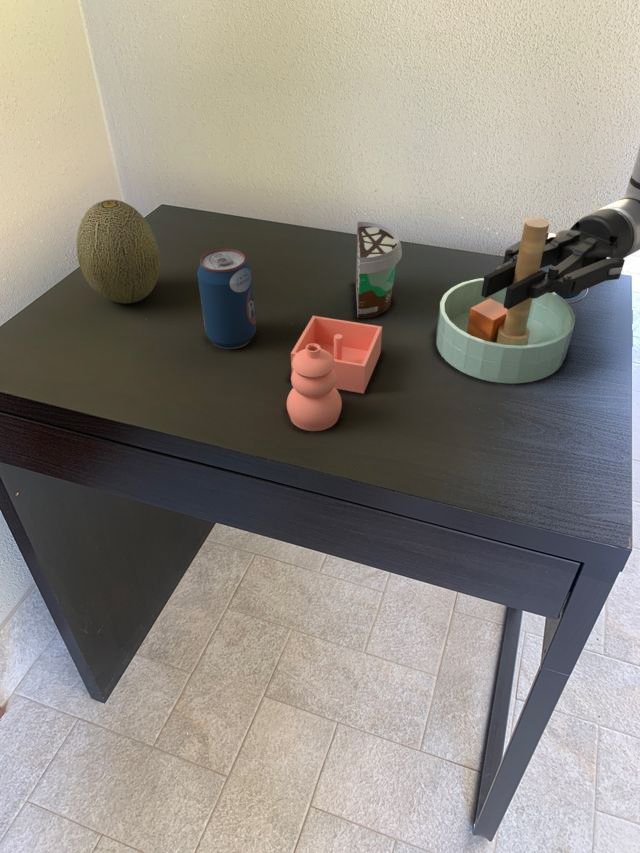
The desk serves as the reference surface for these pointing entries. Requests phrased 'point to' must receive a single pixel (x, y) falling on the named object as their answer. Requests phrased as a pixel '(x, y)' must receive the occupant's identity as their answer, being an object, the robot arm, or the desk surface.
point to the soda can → (227, 298)
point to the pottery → (330, 369)
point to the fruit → (118, 252)
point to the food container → (375, 267)
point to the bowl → (500, 361)
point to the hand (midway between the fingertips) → (496, 292)
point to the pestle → (525, 266)
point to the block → (486, 320)
